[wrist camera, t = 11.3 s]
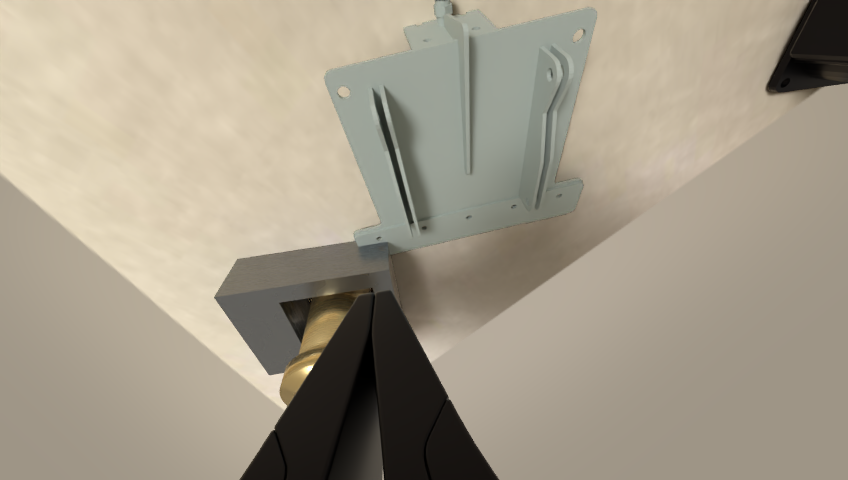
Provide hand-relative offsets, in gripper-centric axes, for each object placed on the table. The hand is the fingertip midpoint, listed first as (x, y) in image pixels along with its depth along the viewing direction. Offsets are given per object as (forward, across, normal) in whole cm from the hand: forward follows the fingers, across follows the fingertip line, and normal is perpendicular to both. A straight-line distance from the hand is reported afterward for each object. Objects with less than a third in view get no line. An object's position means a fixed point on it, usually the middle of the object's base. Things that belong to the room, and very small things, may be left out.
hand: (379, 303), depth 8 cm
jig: (+11, +5, +10) cm, 16 cm away
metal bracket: (+12, -4, 0) cm, 13 cm away
